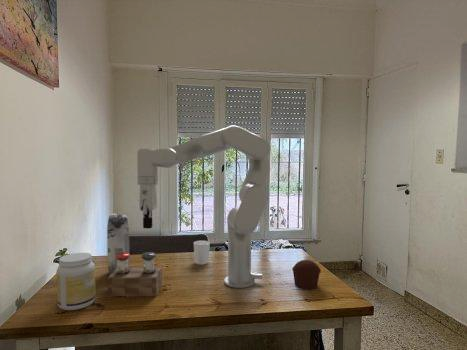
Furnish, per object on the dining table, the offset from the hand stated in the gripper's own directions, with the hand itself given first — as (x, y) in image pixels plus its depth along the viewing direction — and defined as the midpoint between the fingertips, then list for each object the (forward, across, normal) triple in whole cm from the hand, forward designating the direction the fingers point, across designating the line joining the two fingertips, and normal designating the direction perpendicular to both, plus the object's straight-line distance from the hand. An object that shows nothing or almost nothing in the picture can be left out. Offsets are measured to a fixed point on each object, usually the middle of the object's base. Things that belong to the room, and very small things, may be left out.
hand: (147, 227), depth 126 cm
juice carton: (+25, +18, +17) cm, 35 cm away
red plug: (+20, 0, +10) cm, 23 cm away
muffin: (+24, +2, -63) cm, 68 cm away
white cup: (+25, +32, -19) cm, 45 cm away
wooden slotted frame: (+25, 0, +5) cm, 25 cm away
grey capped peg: (+20, 0, 0) cm, 20 cm away
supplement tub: (+25, -11, +23) cm, 35 cm away
